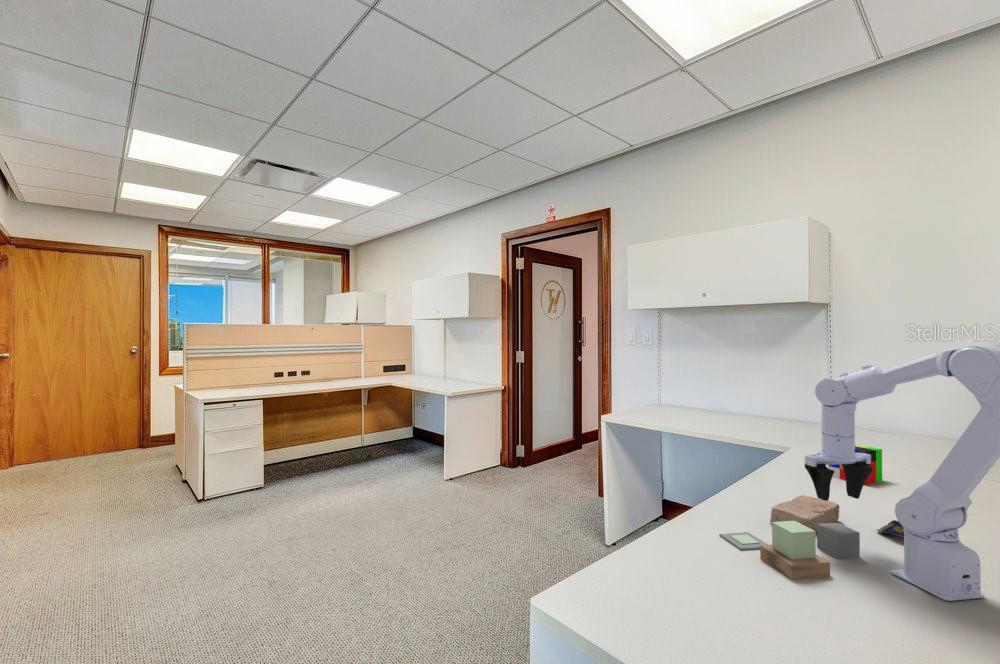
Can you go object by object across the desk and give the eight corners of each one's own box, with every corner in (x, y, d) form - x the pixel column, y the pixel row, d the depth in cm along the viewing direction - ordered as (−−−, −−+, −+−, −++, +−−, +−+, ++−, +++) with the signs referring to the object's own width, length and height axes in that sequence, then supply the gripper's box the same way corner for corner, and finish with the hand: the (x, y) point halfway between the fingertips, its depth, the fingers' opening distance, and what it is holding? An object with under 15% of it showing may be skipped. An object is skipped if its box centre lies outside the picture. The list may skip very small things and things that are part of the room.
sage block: (815, 557, 86) (815, 531, 86) (792, 559, 85) (791, 532, 85) (794, 545, 91) (794, 520, 91) (772, 547, 90) (772, 522, 90)
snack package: (879, 522, 110) (873, 536, 102) (885, 496, 109) (879, 508, 101) (950, 548, 101) (949, 565, 93) (957, 520, 101) (957, 535, 92)
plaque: (771, 548, 95) (771, 545, 95) (740, 550, 94) (740, 547, 94) (747, 533, 102) (748, 531, 102) (719, 535, 101) (719, 533, 101)
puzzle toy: (828, 476, 147) (828, 445, 147) (846, 472, 151) (846, 442, 151) (863, 485, 138) (863, 452, 138) (882, 481, 142) (882, 449, 142)
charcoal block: (859, 557, 92) (859, 532, 92) (838, 559, 91) (837, 534, 91) (837, 546, 97) (837, 522, 97) (817, 547, 96) (817, 524, 96)
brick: (807, 538, 101) (807, 516, 101) (768, 524, 108) (768, 505, 108) (840, 522, 110) (840, 503, 110) (802, 511, 117) (802, 493, 117)
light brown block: (830, 578, 84) (830, 562, 84) (791, 581, 83) (791, 565, 83) (796, 557, 92) (796, 542, 92) (760, 560, 91) (760, 545, 91)
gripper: (849, 429, 103) (849, 490, 103) (793, 431, 100) (793, 493, 100) (880, 436, 96) (880, 501, 96) (821, 438, 93) (821, 505, 93)
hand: (838, 498), depth 97 cm, fingers open, 7 cm apart
